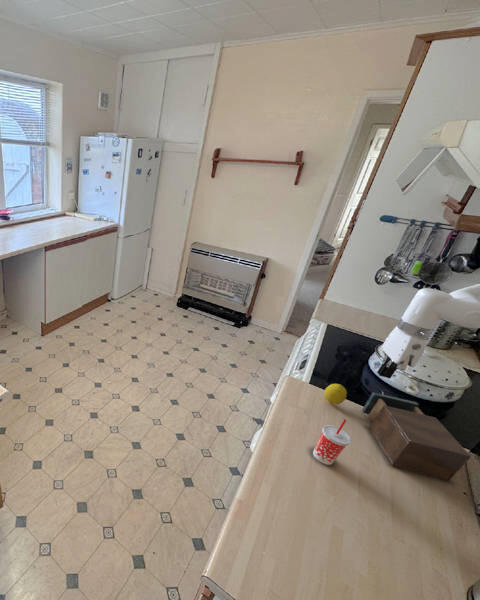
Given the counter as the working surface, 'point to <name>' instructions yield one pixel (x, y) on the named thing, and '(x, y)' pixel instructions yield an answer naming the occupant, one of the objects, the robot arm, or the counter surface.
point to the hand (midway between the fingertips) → (383, 375)
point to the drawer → (379, 400)
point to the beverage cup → (331, 443)
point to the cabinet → (418, 443)
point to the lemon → (335, 393)
